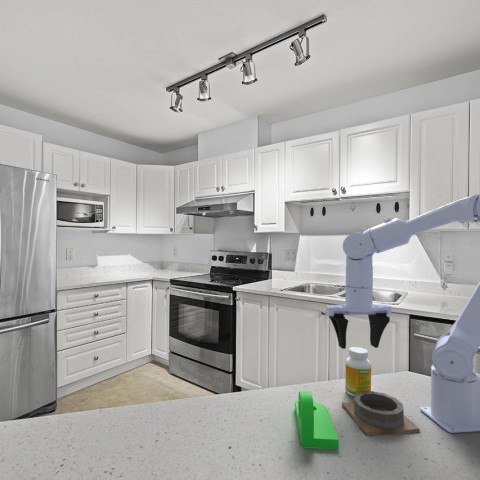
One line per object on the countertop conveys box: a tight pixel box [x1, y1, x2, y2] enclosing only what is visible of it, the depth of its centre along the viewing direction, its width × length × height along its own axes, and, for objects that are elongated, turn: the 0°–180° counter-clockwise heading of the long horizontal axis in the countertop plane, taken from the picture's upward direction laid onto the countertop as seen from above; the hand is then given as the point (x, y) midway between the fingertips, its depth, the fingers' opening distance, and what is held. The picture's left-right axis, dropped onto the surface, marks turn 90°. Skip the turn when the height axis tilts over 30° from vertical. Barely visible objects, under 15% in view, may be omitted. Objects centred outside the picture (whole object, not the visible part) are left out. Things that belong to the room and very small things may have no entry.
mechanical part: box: [294, 390, 340, 451], centre depth 58 cm, size 12×6×8 cm, turn 175°
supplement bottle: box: [344, 346, 372, 398], centre depth 71 cm, size 5×5×10 cm
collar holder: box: [341, 390, 421, 436], centre depth 61 cm, size 10×10×3 cm
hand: (358, 346), depth 71 cm, fingers open, 7 cm apart
